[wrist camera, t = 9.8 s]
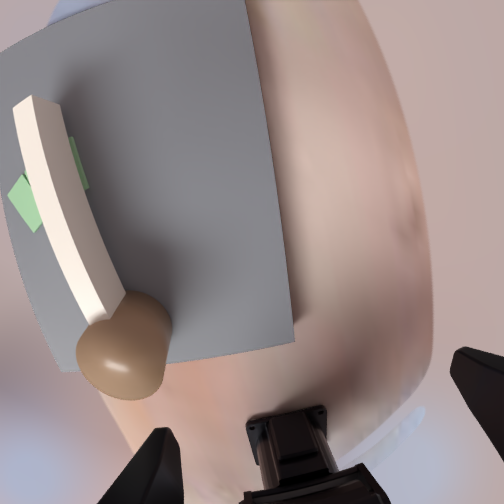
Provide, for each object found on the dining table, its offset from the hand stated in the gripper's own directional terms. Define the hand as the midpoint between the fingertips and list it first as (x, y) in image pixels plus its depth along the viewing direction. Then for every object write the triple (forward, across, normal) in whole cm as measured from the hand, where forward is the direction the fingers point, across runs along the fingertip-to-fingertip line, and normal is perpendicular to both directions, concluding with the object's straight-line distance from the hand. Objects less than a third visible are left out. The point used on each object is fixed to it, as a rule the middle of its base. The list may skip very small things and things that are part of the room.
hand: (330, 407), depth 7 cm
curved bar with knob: (+9, +9, -4) cm, 14 cm away
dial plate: (+11, +7, -7) cm, 15 cm away
